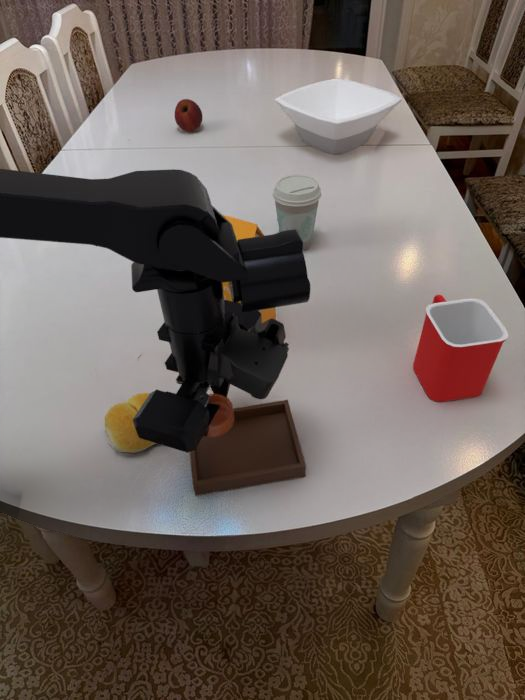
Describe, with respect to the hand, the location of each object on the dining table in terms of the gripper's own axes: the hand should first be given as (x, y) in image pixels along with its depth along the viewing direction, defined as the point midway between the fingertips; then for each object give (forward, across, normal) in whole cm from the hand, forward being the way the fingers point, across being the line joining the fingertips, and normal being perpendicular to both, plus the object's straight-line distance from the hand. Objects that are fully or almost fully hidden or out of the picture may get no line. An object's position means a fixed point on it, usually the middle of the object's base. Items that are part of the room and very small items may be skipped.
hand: (212, 416), depth 57 cm
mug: (+8, +23, -24) cm, 34 cm away
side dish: (+1, 0, 0) cm, 1 cm away
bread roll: (+8, 0, +11) cm, 14 cm away
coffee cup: (+8, +48, +5) cm, 49 cm away
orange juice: (+8, +22, +6) cm, 24 cm away
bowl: (+8, +96, +9) cm, 97 cm away
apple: (+8, +93, +49) cm, 105 cm away
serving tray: (+7, +1, -3) cm, 8 cm away
